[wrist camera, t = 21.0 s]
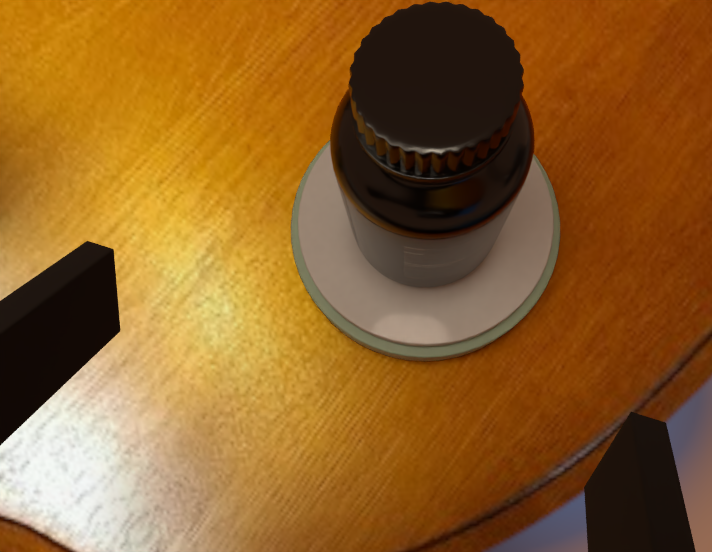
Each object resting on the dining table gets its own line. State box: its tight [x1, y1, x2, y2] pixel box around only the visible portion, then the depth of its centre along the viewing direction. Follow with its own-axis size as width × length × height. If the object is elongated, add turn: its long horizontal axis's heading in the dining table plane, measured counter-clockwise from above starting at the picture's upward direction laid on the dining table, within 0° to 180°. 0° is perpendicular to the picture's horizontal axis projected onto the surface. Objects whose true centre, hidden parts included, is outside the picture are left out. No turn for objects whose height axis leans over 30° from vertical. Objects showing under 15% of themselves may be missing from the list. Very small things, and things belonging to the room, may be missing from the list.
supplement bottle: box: [330, 2, 534, 288], centre depth 21 cm, size 7×7×12 cm
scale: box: [291, 140, 560, 361], centre depth 29 cm, size 13×13×3 cm
